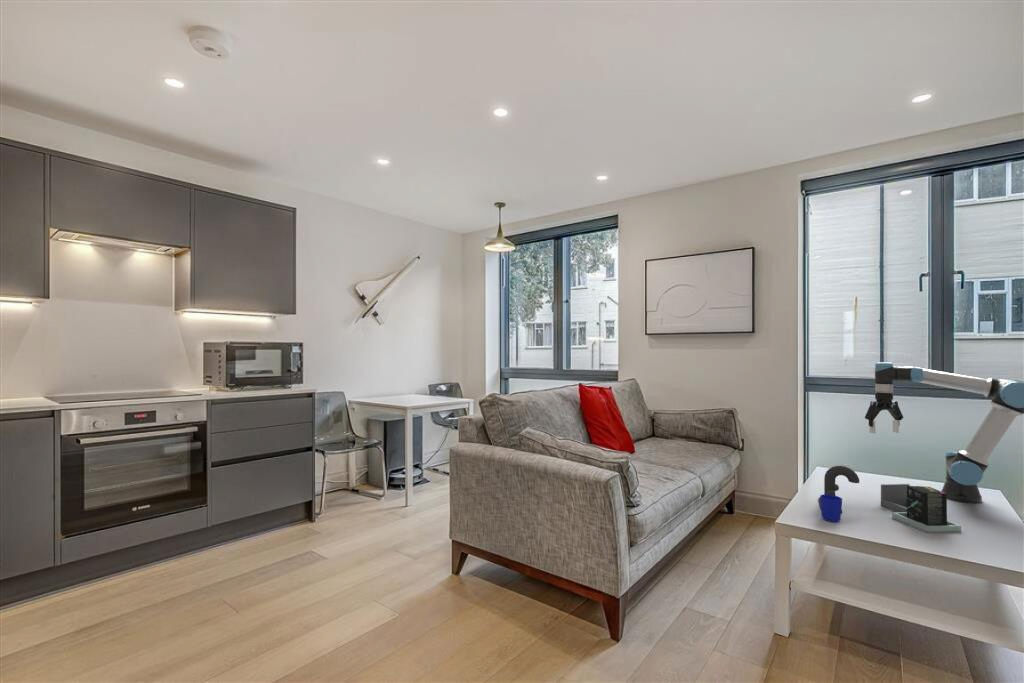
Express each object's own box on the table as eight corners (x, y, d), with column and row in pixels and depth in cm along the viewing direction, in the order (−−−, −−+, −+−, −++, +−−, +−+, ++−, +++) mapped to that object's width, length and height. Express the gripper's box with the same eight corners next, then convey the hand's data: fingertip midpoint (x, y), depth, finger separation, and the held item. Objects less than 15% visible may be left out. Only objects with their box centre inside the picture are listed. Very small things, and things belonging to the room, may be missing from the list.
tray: (923, 517, 218) (923, 511, 218) (961, 531, 201) (961, 525, 201) (892, 517, 217) (892, 512, 217) (927, 532, 200) (927, 526, 200)
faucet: (862, 516, 218) (862, 472, 219) (820, 510, 226) (820, 467, 226) (857, 505, 234) (857, 463, 234) (818, 499, 242) (818, 459, 242)
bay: (907, 504, 235) (907, 483, 235) (937, 515, 220) (937, 493, 220) (880, 505, 234) (880, 484, 234) (908, 516, 219) (908, 494, 219)
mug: (836, 515, 220) (836, 493, 220) (844, 524, 209) (844, 501, 209) (815, 512, 223) (815, 491, 223) (822, 522, 212) (822, 499, 212)
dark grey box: (947, 528, 203) (948, 493, 203) (923, 527, 204) (923, 492, 204) (929, 519, 214) (929, 485, 214) (906, 518, 215) (906, 484, 215)
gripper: (898, 391, 259) (898, 430, 259) (856, 391, 256) (856, 431, 256) (911, 392, 252) (912, 433, 252) (868, 392, 249) (868, 434, 249)
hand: (884, 432), depth 254 cm, fingers open, 13 cm apart
